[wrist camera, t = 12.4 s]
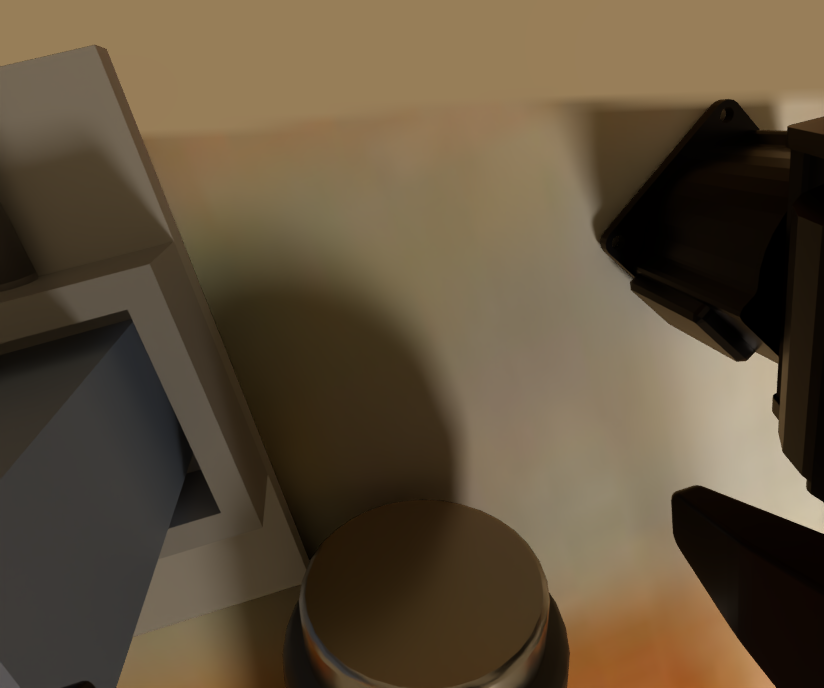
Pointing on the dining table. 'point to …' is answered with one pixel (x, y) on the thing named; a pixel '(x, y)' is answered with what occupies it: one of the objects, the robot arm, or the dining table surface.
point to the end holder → (135, 320)
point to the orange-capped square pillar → (81, 503)
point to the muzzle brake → (425, 605)
